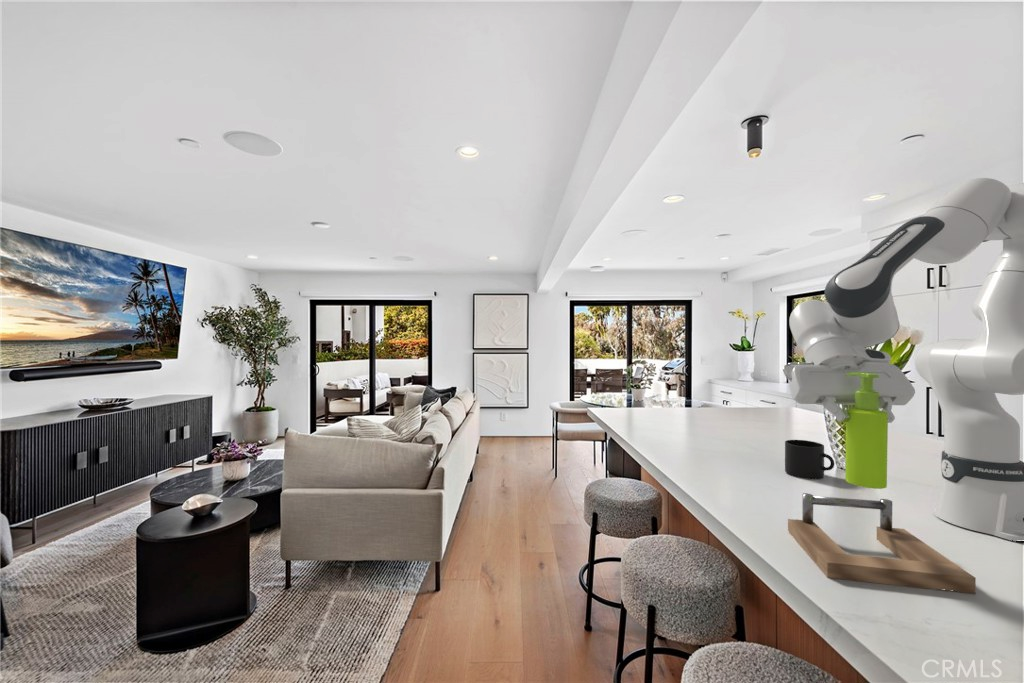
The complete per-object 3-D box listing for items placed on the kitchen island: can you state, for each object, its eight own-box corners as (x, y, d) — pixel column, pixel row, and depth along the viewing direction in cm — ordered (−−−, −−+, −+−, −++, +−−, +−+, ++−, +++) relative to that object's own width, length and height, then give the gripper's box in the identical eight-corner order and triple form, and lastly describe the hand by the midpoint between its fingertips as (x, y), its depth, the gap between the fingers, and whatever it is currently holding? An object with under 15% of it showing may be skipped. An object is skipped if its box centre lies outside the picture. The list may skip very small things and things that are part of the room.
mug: (828, 484, 119) (828, 450, 119) (779, 473, 129) (779, 442, 128) (839, 477, 125) (839, 445, 125) (792, 467, 134) (792, 438, 134)
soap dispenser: (863, 476, 84) (864, 371, 84) (895, 488, 78) (897, 374, 77) (833, 476, 84) (834, 371, 84) (863, 488, 77) (864, 374, 77)
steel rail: (888, 527, 86) (889, 499, 86) (894, 531, 85) (894, 502, 85) (800, 519, 90) (801, 492, 90) (804, 523, 88) (804, 496, 88)
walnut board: (903, 541, 86) (903, 528, 86) (975, 593, 68) (975, 577, 68) (787, 531, 91) (787, 519, 91) (827, 577, 73) (827, 562, 73)
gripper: (785, 352, 89) (811, 409, 79) (897, 352, 86) (938, 411, 77) (774, 373, 93) (798, 429, 84) (881, 373, 91) (918, 431, 81)
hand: (866, 420), depth 80 cm, fingers closed on soap dispenser, 6 cm apart
